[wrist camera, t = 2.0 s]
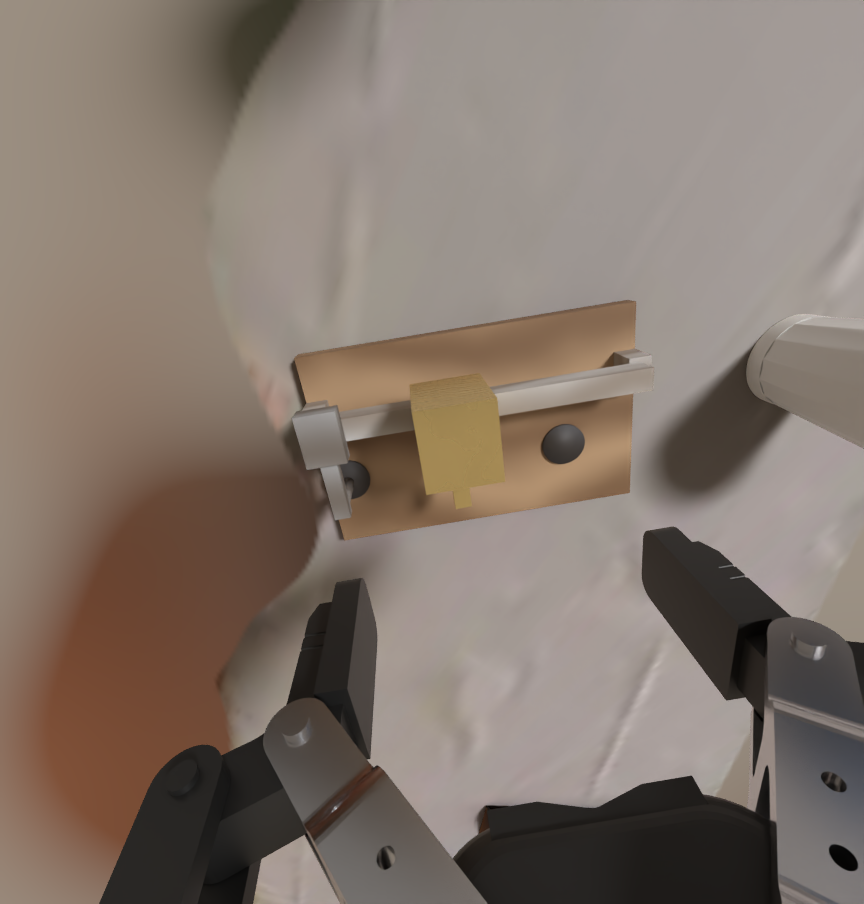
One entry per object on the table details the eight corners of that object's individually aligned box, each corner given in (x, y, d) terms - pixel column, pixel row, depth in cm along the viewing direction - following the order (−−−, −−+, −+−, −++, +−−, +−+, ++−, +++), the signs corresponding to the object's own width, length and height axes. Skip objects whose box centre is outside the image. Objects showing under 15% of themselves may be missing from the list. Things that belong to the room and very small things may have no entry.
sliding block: (407, 369, 28) (411, 412, 20) (469, 359, 28) (497, 397, 20) (426, 477, 31) (436, 550, 24) (482, 467, 31) (510, 538, 24)
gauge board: (298, 354, 29) (273, 377, 23) (627, 299, 29) (682, 309, 24) (346, 531, 35) (335, 584, 29) (622, 485, 35) (665, 529, 29)
